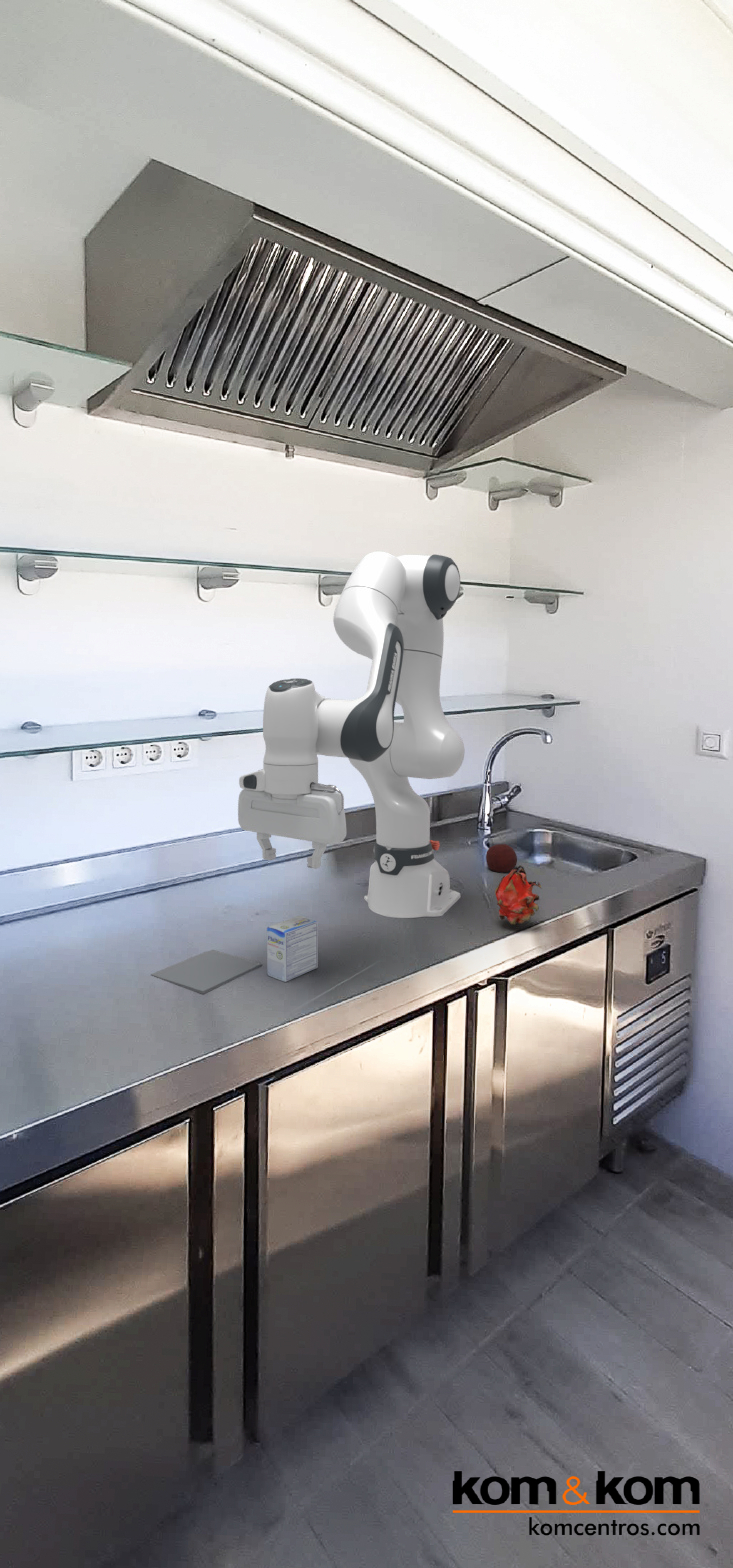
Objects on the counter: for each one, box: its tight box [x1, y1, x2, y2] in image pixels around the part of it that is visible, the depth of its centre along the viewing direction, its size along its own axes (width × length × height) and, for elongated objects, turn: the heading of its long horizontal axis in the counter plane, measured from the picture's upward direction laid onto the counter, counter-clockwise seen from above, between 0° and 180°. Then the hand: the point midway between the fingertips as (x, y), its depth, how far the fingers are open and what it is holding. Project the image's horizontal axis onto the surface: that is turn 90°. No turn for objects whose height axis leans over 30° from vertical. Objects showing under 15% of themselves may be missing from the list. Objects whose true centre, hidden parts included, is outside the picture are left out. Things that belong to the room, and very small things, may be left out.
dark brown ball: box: [485, 843, 518, 873], centre depth 201 cm, size 7×8×7 cm
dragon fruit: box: [494, 865, 542, 926], centre depth 162 cm, size 8×8×12 cm
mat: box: [150, 949, 263, 995], centre depth 139 cm, size 14×12×1 cm
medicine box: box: [266, 915, 319, 983], centre depth 138 cm, size 8×4×9 cm, turn 141°
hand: (291, 863), depth 135 cm, fingers open, 8 cm apart
